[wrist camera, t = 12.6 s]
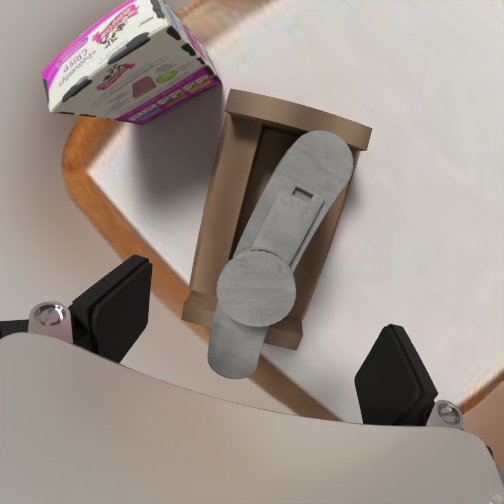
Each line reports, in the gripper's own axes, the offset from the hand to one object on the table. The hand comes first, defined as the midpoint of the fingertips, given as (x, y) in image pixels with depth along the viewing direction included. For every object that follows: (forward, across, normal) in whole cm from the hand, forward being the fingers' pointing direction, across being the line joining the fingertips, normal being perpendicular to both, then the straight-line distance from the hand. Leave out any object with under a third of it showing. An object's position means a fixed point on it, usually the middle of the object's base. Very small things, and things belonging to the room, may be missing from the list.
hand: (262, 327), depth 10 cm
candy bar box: (+23, +16, -12) cm, 30 cm away
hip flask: (+22, +1, 0) cm, 23 cm away
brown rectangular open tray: (+23, +1, 0) cm, 23 cm away
